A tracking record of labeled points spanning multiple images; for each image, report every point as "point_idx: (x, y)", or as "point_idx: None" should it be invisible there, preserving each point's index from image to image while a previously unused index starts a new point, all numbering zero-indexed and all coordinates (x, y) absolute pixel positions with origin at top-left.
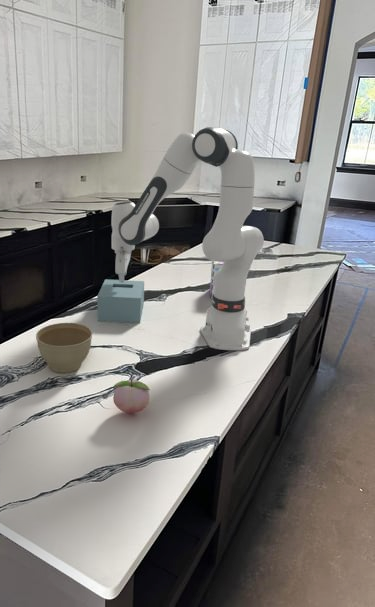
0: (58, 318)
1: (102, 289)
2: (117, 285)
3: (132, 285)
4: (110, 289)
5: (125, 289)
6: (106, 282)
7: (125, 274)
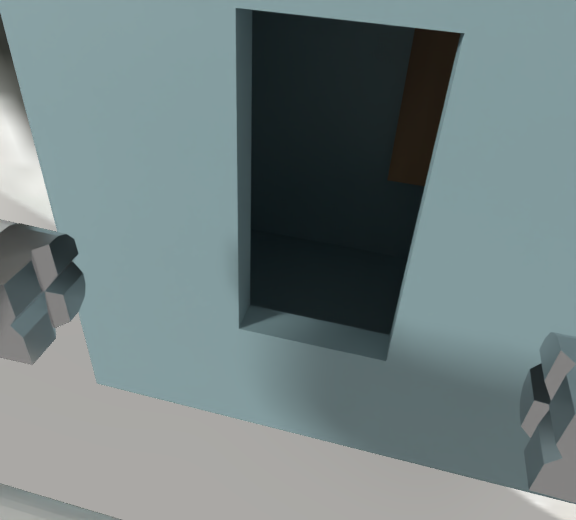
0: (522, 493)
1: (488, 465)
2: (246, 266)
3: (243, 25)
4: (505, 394)
5: (551, 189)
6: (204, 389)
7: (61, 249)
